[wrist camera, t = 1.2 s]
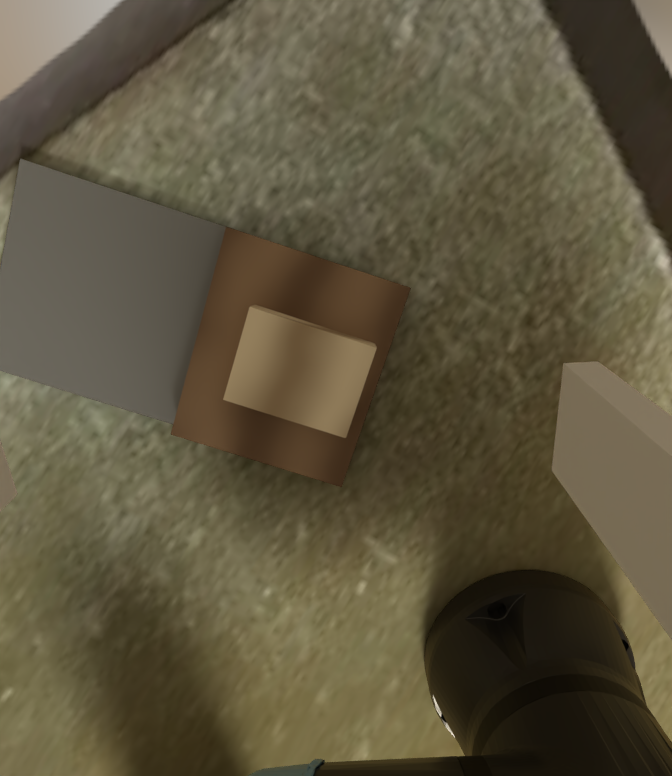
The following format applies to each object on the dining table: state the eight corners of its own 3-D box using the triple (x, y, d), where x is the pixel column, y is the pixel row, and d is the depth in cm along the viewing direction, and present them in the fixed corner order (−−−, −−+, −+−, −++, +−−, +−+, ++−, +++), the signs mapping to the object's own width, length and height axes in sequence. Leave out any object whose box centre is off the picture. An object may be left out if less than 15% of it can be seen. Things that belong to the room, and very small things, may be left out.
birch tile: (374, 343, 35) (376, 348, 33) (345, 429, 36) (345, 438, 34) (255, 304, 34) (249, 306, 32) (229, 392, 35) (223, 399, 34)
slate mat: (234, 229, 36) (232, 228, 35) (181, 423, 39) (179, 426, 38) (25, 160, 35) (20, 158, 34) (-12, 363, 38) (-18, 365, 37)
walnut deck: (406, 286, 36) (410, 287, 34) (341, 473, 39) (341, 487, 37) (234, 229, 36) (226, 226, 33) (181, 423, 39) (170, 434, 36)
